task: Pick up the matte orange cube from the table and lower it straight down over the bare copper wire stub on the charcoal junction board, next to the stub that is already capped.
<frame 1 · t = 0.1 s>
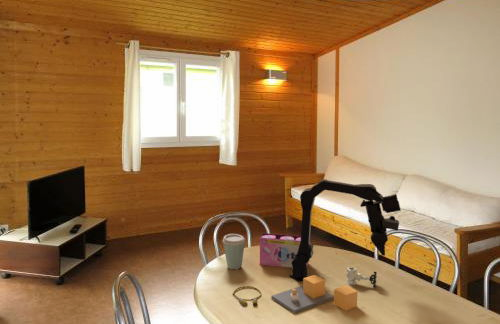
hand: (383, 251, 163), 15 cm above the table, tool pointing down, fingers open, 9 cm apart
valve: (360, 285, 168), on the table
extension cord: (246, 297, 158), on the table
matte orange cube: (345, 305, 150), on the table
disposable coffee cup: (234, 267, 187), on the table
gum box: (284, 264, 191), on the table
junction board: (302, 298, 155), on the table
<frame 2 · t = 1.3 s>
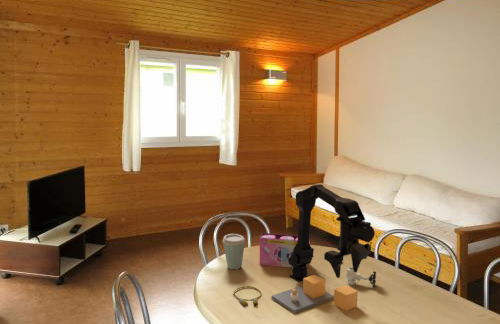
hand: (346, 274, 149), 12 cm above the table, tool pointing down, fingers open, 9 cm apart
nothing on the table moved.
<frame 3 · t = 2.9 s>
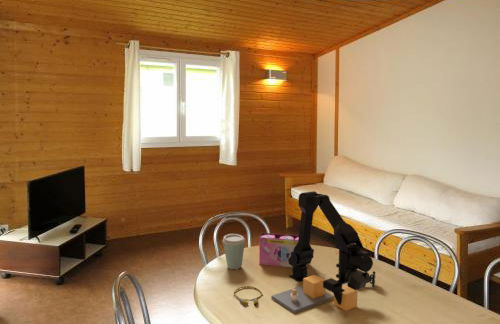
hand: (345, 302, 150), 1 cm above the table, tool pointing down, fingers closed on matte orange cube, 6 cm apart
matte orange cube: (345, 305, 150), on the table, touching gripper
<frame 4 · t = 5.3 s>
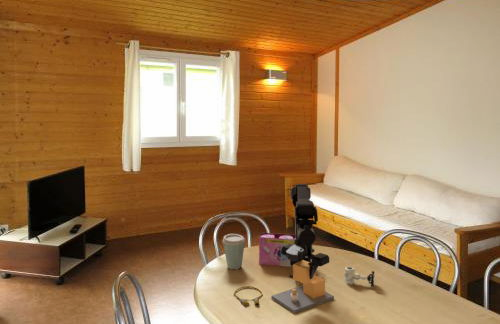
hand: (304, 276, 150), 11 cm above the table, tool pointing down, fingers closed on matte orange cube, 6 cm apart
matte orange cube: (304, 279, 150), point 10 cm above the table, touching gripper
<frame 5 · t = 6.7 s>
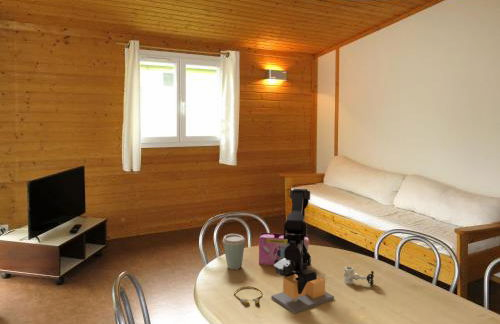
hand: (294, 290, 151), 5 cm above the table, tool pointing down, fingers closed on matte orange cube, 6 cm apart
matte orange cube: (294, 293, 151), point 4 cm above the table, touching gripper
when the fingers open (3 cm above the table, at t = 7.9 s): matte orange cube stays where it is, resting on junction board.
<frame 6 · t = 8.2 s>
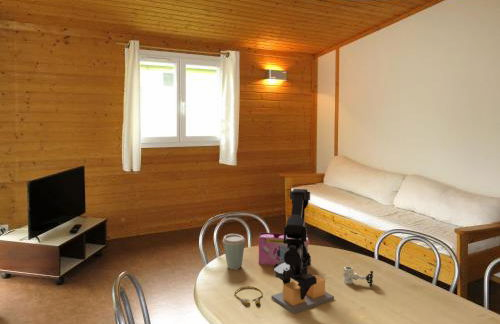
hand: (294, 294, 151), 3 cm above the table, tool pointing down, fingers open, 9 cm apart
matte orange cube: (294, 300, 152), point 1 cm above the table, touching junction board
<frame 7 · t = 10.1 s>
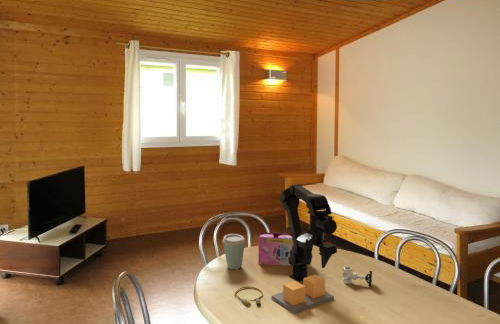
hand: (315, 263, 161), 11 cm above the table, tool pointing down, fingers open, 9 cm apart
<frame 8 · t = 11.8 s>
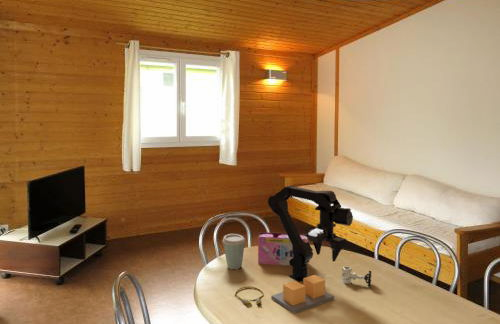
hand: (325, 257, 166), 12 cm above the table, tool pointing down, fingers open, 9 cm apart
at the end: matte orange cube 0.1 cm from the target spot on the junction board, point 1.2 cm above the junction board's base; matte orange cube tilted 0°; the gripper is holding nothing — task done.
